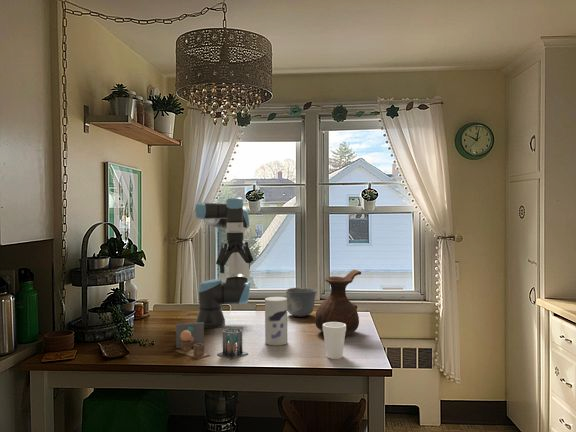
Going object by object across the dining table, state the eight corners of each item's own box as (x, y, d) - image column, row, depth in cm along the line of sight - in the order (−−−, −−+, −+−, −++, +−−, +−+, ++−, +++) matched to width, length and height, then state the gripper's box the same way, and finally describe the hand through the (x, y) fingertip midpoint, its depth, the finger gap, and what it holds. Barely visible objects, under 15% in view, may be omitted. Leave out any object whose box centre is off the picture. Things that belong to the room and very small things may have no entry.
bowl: (323, 315, 270) (322, 288, 270) (307, 321, 256) (307, 293, 255) (296, 311, 280) (296, 286, 280) (279, 317, 265) (279, 290, 265)
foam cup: (321, 353, 199) (321, 322, 199) (343, 352, 200) (343, 321, 200) (325, 360, 189) (324, 327, 189) (348, 359, 190) (348, 327, 190)
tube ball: (224, 355, 198) (222, 343, 199) (233, 352, 201) (230, 341, 202) (231, 353, 195) (229, 342, 196) (240, 350, 198) (237, 339, 199)
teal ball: (223, 336, 198) (229, 332, 195) (232, 332, 201) (237, 329, 198) (228, 346, 196) (233, 343, 193) (237, 343, 200) (242, 339, 197)
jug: (356, 341, 217) (355, 275, 217) (310, 337, 224) (309, 273, 223) (363, 329, 238) (362, 269, 238) (320, 326, 244) (320, 268, 244)
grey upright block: (176, 344, 213) (176, 322, 213) (203, 342, 216) (203, 320, 216) (176, 347, 209) (175, 325, 208) (204, 345, 211) (203, 323, 211)
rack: (175, 351, 203) (175, 340, 203) (187, 348, 208) (187, 337, 208) (198, 359, 192) (198, 347, 192) (210, 355, 197) (209, 344, 197)
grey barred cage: (217, 355, 198) (216, 330, 198) (233, 350, 204) (233, 326, 204) (231, 359, 192) (231, 334, 191) (248, 354, 198) (247, 330, 198)
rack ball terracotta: (178, 341, 203) (178, 330, 203) (187, 339, 206) (187, 328, 206) (184, 343, 200) (184, 332, 200) (193, 341, 203) (193, 330, 203)
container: (271, 346, 209) (270, 301, 209) (261, 341, 218) (261, 297, 217) (291, 343, 213) (291, 299, 213) (281, 338, 222) (281, 295, 222)
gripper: (218, 233, 205) (219, 282, 206) (260, 231, 224) (260, 276, 224) (207, 232, 210) (208, 280, 211) (249, 230, 229) (250, 275, 229)
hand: (235, 278), depth 217 cm, fingers open, 13 cm apart
